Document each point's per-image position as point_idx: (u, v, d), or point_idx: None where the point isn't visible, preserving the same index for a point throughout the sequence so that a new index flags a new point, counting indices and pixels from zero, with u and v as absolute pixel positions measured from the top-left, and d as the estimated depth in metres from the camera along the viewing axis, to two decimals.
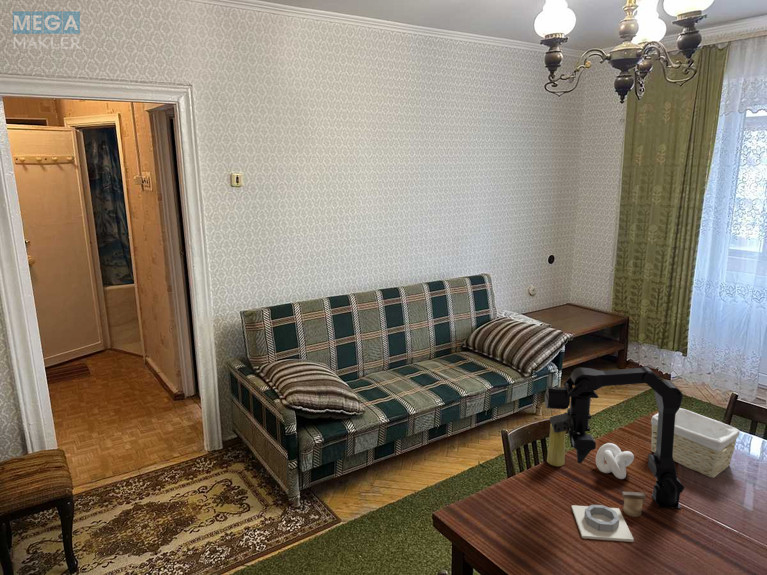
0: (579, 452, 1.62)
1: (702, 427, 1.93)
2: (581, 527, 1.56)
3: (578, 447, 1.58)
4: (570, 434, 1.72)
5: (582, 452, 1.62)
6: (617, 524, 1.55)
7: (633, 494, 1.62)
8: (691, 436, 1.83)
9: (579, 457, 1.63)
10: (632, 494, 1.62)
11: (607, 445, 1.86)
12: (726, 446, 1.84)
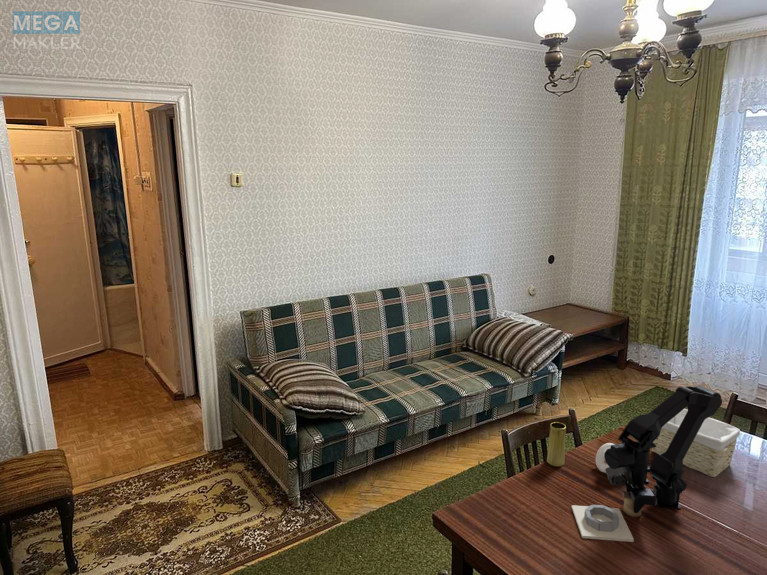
0: None
1: (702, 426, 1.93)
2: (581, 527, 1.56)
3: (639, 503, 1.53)
4: (627, 488, 1.66)
5: None
6: (617, 524, 1.55)
7: None
8: None
9: (636, 507, 1.60)
10: None
11: (607, 445, 1.86)
12: (727, 445, 1.84)
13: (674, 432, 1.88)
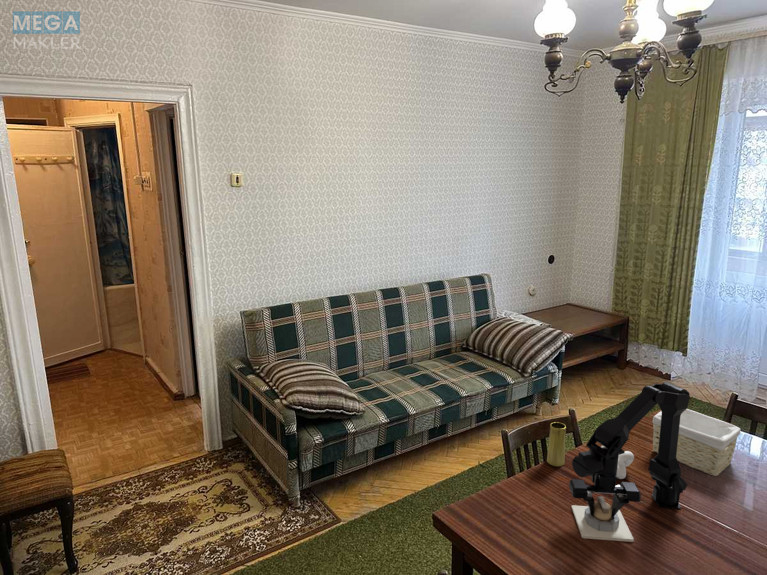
0: None
1: (703, 426, 1.94)
2: (581, 527, 1.56)
3: (569, 486, 1.59)
4: (613, 501, 1.58)
5: None
6: (617, 524, 1.55)
7: (601, 502, 1.57)
8: (694, 435, 1.83)
9: None
10: (600, 501, 1.58)
11: None
12: (728, 444, 1.85)
13: None
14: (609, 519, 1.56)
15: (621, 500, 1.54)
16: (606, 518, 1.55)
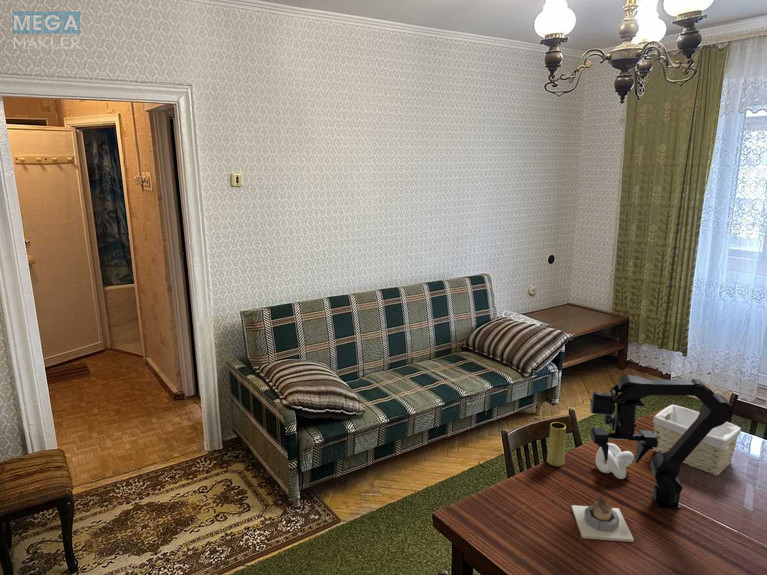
0: (602, 447, 1.70)
1: None
2: (581, 527, 1.56)
3: (590, 434, 1.70)
4: (637, 448, 1.69)
5: (603, 449, 1.69)
6: (617, 524, 1.55)
7: (601, 502, 1.57)
8: None
9: (603, 453, 1.70)
10: (600, 501, 1.58)
11: None
12: (728, 444, 1.85)
13: (676, 431, 1.88)
14: (609, 519, 1.56)
15: (645, 446, 1.65)
16: (606, 518, 1.55)
